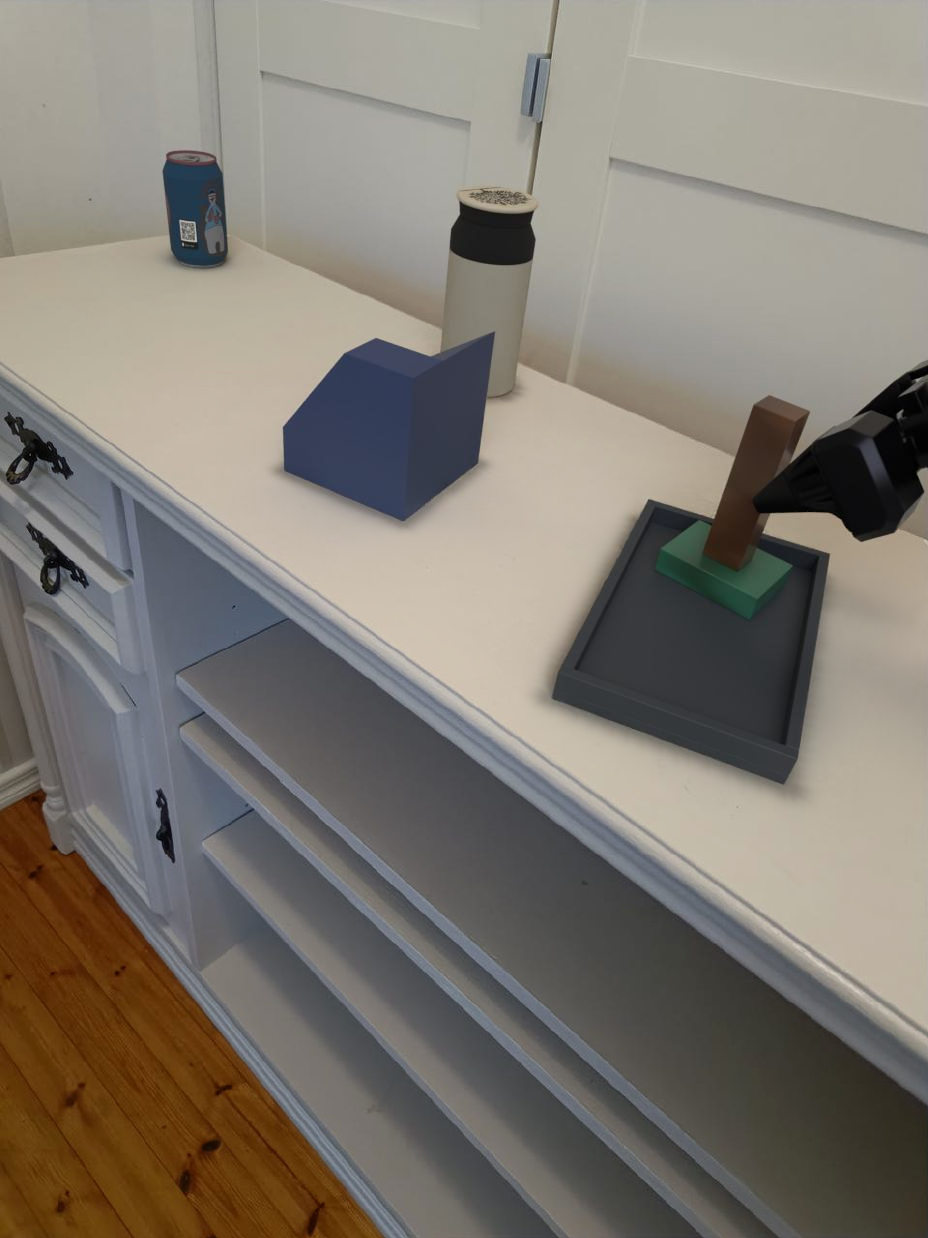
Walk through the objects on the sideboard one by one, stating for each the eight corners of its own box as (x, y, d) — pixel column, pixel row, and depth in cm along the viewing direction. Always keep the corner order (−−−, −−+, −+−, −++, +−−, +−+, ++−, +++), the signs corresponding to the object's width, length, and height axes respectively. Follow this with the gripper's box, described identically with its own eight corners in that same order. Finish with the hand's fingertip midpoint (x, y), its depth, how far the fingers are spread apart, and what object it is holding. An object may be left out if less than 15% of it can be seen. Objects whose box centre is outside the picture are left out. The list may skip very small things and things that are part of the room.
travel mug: (528, 393, 88) (558, 206, 76) (462, 404, 84) (483, 210, 73) (488, 362, 93) (510, 182, 81) (424, 372, 89) (438, 185, 78)
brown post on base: (784, 586, 64) (857, 417, 55) (749, 620, 61) (821, 444, 52) (692, 540, 68) (747, 374, 59) (653, 569, 64) (706, 397, 55)
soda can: (183, 248, 111) (173, 145, 103) (235, 256, 111) (229, 153, 103) (163, 264, 106) (151, 157, 98) (218, 272, 106) (210, 166, 98)
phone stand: (367, 420, 80) (372, 291, 72) (478, 463, 76) (495, 330, 68) (284, 470, 71) (279, 329, 64) (403, 521, 67) (413, 377, 60)
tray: (641, 521, 71) (648, 498, 69) (819, 577, 67) (830, 553, 66) (551, 698, 54) (557, 672, 52) (784, 785, 50) (797, 759, 49)
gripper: (1063, 593, 41) (774, 648, 53) (1129, 469, 52) (879, 538, 64) (977, 379, 39) (699, 486, 51) (1063, 301, 51) (821, 403, 63)
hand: (785, 482), depth 57 cm, fingers open, 9 cm apart
